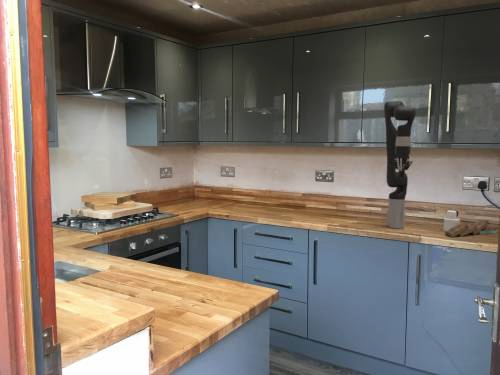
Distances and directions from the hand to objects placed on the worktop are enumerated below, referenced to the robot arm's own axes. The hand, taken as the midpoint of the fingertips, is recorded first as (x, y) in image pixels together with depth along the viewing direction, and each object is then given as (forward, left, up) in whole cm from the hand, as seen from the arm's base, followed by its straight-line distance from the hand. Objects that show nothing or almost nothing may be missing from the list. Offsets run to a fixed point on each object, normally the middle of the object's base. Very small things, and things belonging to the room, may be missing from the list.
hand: (401, 177), depth 222 cm
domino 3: (+9, +42, -31) cm, 53 cm away
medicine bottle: (-1, +39, -32) cm, 51 cm away
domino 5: (+9, +48, -31) cm, 58 cm away
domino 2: (+10, +31, -31) cm, 45 cm away
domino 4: (+10, +50, -29) cm, 59 cm away
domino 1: (+10, +25, -31) cm, 41 cm away
